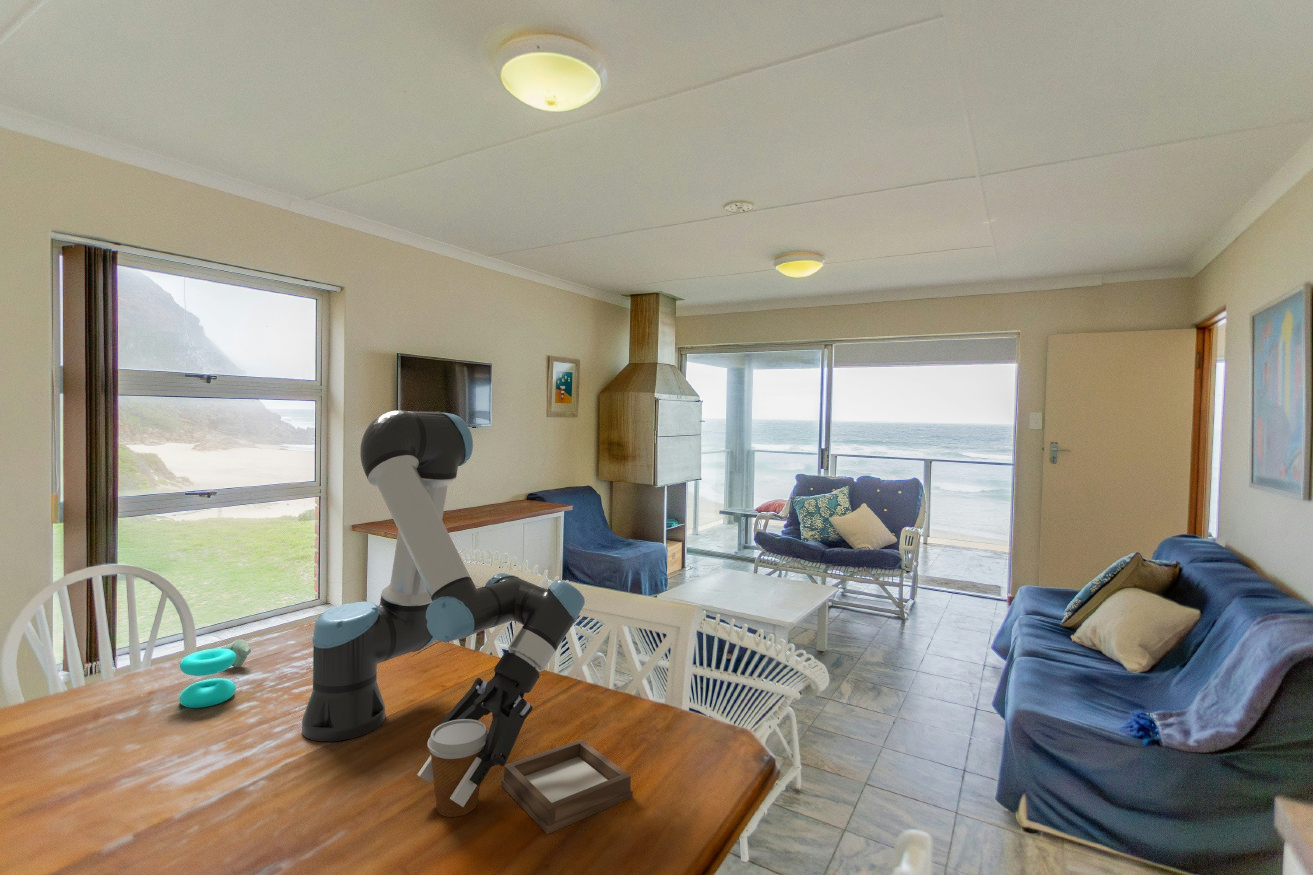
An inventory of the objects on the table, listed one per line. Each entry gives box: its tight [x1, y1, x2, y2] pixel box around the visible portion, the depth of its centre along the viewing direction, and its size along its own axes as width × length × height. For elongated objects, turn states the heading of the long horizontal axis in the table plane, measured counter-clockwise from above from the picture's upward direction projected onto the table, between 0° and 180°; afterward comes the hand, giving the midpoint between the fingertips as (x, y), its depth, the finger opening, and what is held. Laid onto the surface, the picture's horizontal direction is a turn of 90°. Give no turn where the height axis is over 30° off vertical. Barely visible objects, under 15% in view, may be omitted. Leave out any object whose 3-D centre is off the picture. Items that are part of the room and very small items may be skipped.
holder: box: [500, 738, 634, 835], centre depth 105 cm, size 16×16×4 cm
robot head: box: [221, 638, 252, 669], centre depth 154 cm, size 8×4×7 cm, turn 76°
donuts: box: [178, 647, 236, 709], centre depth 136 cm, size 10×10×10 cm
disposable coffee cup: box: [426, 719, 489, 818], centre depth 100 cm, size 10×10×12 cm
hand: (439, 790), depth 98 cm, fingers closed on disposable coffee cup, 9 cm apart
